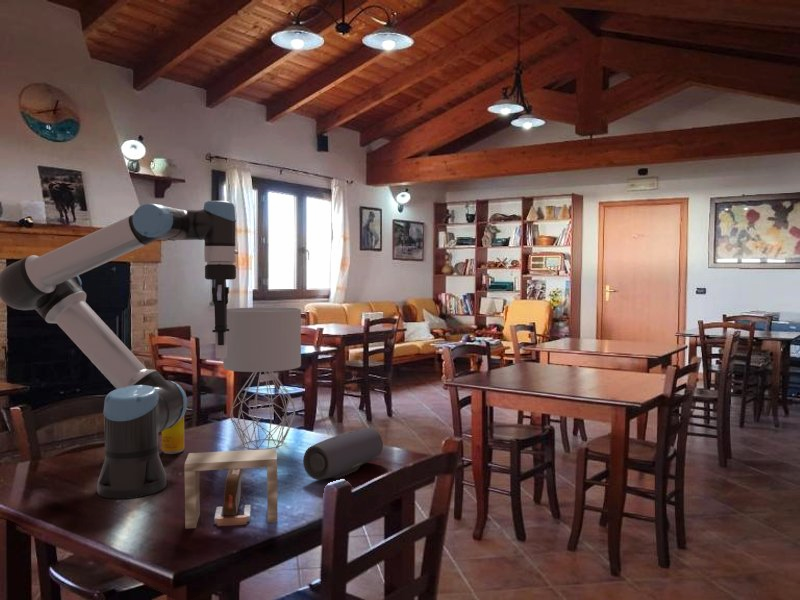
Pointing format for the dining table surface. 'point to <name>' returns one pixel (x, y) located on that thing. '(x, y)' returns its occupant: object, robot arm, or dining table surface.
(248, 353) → the table lamp
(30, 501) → the dining table surface
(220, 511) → the grey and orange bracket
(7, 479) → the dining table surface
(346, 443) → the bluetooth speaker
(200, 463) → the overhang
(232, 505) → the tin
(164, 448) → the beer can
